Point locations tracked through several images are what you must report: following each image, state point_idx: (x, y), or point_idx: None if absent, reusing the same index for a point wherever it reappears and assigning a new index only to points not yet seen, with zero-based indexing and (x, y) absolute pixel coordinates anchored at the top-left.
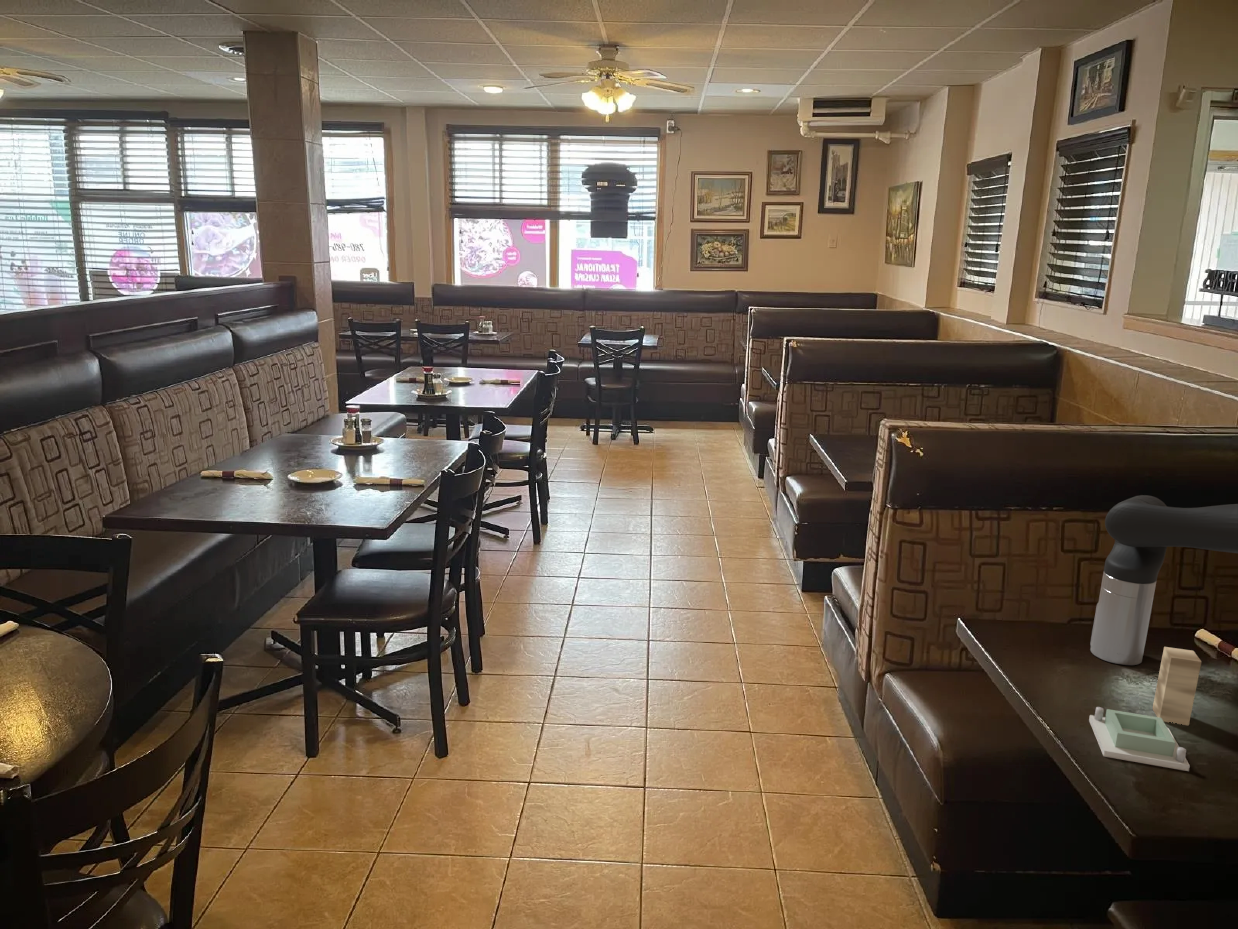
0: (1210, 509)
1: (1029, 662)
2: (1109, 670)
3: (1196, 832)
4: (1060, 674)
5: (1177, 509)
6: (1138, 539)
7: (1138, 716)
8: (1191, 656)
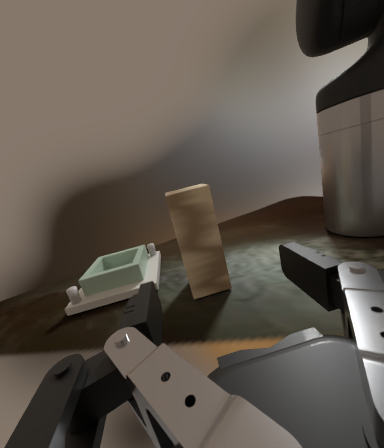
0: None
1: (252, 220)
2: (302, 235)
3: None
4: (247, 229)
5: None
6: (302, 32)
7: (136, 255)
8: (180, 191)
